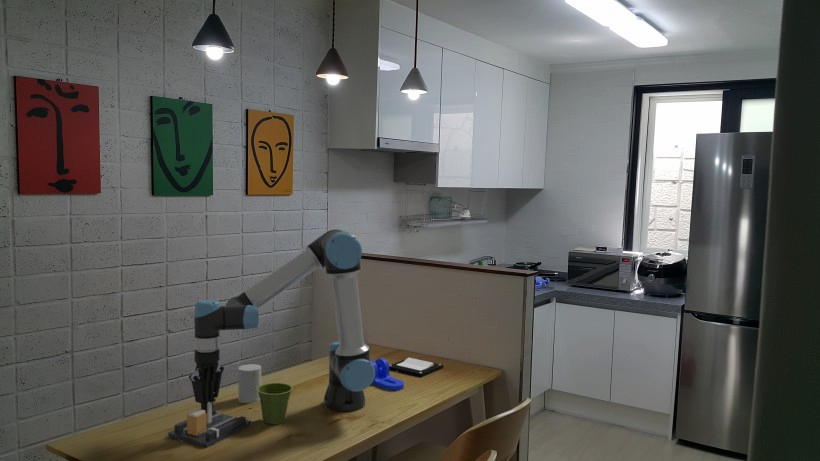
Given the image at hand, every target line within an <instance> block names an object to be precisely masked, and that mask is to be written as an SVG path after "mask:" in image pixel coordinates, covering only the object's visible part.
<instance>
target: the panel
mask: <svg viewBox="0 0 820 461" xmlns="http://www.w3.org/2000/svg"><path fill="white" fill-rule="evenodd" d="M237 418H238V416H236V415H234V416H232V415H229V414H225V413H223V412H216V415H214V416H212V422H211V423H206V430H204V431H202V432H200V433H198V436H195V435H191V434H187V428H184V429H182V430H181V431H179V432H178V431H175V429H173V430H170V431H168V432H167V435H168V436H169V437H168V436H167V437H168V438H170V437H173V438H175V439H174V440H177V439H179V440H178V441H181V440H182V441H181V442H185V443H188V444H191V445H196V446H199V447H202V448H209V447H211V446H213V445H215V444H217V443H219V442H221V441H223V440H225V439H227V438H230V437H231V436H233V435H235V434H237V433H239V432H241V431H243V430H246V429H247V428H249V427H251V426H252V420H250V419H246V423H244V424H242V425H240V426H238V427H236V428H234V429H232V430H230V431H228V432H226V433H223V434H221V435H219V437H215V438H213V439H211V440H208V439H206V433H207V432H209V431H211V428H218V427H220V426H222V425H224V424H226V423H228V422H230V421H232V420H235V419H237ZM173 438H172V439H173Z"/></svg>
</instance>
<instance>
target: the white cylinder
mask: <svg viewBox="0 0 820 461" xmlns="http://www.w3.org/2000/svg"><path fill="white" fill-rule="evenodd" d="M261 385H262V366H261V365H260V364H253V363H252V364H249V363H247V364H242V365H240V366H238V396H237V397H238V402H240V403H243V404H254V403H257V402H260V397H259V392H258V391H257V388H258V387H259V386H261Z"/></svg>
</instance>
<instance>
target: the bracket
mask: <svg viewBox="0 0 820 461" xmlns="http://www.w3.org/2000/svg"><path fill="white" fill-rule="evenodd" d="M371 363H372V364H373V366H374V369H375V377H374V380H373V382H372V383H371V385H372V384H373V385H372V386H375V385H376V386H375V387H377V386H378V387H377V388H380V387H381V388H380V389H383V388H384V389H383V390H385V389H387V390H386V391H389V390H391V391H390V392H397V390H398V391H401V390H403V389H404V386H405V382H404V381H403V380H401V379H397V378H394V377H391V374H390V370H389V365H390V363H389V361H388V360H387V359H386V358H385V357H381V358H377V359H376V360H375V361H374V360H371Z"/></svg>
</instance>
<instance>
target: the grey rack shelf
mask: <svg viewBox="0 0 820 461" xmlns="http://www.w3.org/2000/svg"><path fill="white" fill-rule="evenodd" d="M216 411H217V409H214V408H213V410H212V416H214V415H216ZM246 418H247V417H246V416H243V415H242V416H239V417H237V419H235V420H232V421H230V422H228V423H226V424H224V425H222V426H220V427H218V428H211V431H209V432H207V433H206V439H208V440H211V439H213V438H215V437H219V435H221V434H223V433H226V432H228V431H230V430H232V429H234V428H236V427H238V426H240V425H242V424H244V423H246V420H247V419H246ZM184 428H187V419H185V420H182V421H180V422H178V423H176V424H174V430H175V431H178V432H179V431H181V430H182V429H184Z"/></svg>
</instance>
